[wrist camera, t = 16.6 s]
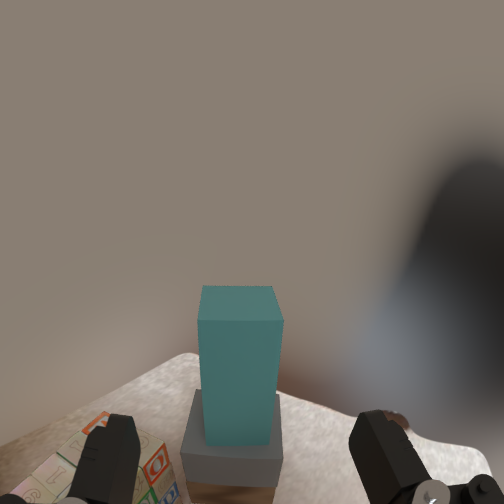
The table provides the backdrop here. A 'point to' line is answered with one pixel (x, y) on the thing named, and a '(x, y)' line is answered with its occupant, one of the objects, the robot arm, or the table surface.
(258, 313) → the teal pillar
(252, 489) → the tower base block
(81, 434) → the stack of blocks
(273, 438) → the tower top block
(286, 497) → the table surface
